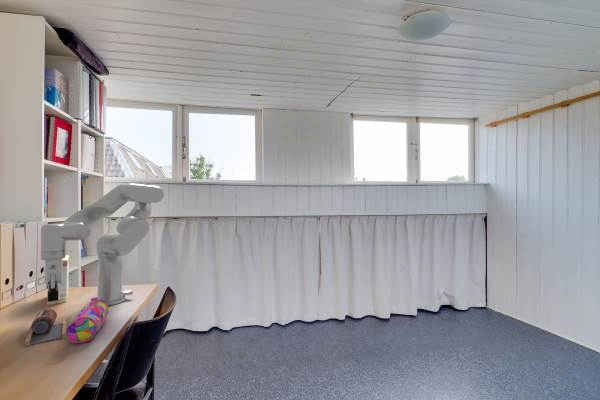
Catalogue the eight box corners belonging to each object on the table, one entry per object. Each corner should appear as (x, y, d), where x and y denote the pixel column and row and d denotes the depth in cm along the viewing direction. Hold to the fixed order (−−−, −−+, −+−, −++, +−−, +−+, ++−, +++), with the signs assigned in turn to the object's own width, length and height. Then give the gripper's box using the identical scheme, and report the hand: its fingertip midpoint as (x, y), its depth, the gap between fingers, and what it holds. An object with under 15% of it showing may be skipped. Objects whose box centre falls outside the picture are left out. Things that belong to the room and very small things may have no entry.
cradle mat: (66, 323, 108) (66, 319, 108) (65, 337, 97) (65, 333, 97) (30, 330, 102) (30, 326, 102) (25, 346, 91) (25, 341, 91)
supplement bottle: (61, 313, 109) (57, 324, 100) (47, 327, 107) (42, 340, 97) (45, 305, 106) (39, 316, 97) (31, 319, 104) (24, 332, 95)
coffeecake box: (50, 295, 139) (51, 255, 139) (68, 293, 143) (69, 254, 143) (46, 305, 127) (47, 261, 127) (66, 302, 131) (67, 259, 131)
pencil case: (80, 322, 110) (80, 298, 111) (109, 318, 115) (109, 295, 115) (63, 348, 91) (64, 319, 91) (99, 342, 95) (99, 315, 95)
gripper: (65, 256, 110) (65, 303, 110) (65, 251, 122) (65, 293, 122) (39, 259, 105) (39, 308, 106) (41, 253, 117) (41, 297, 117)
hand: (53, 300), depth 114 cm, fingers closed
